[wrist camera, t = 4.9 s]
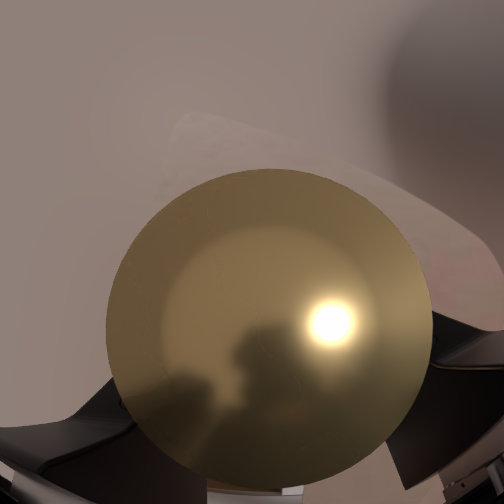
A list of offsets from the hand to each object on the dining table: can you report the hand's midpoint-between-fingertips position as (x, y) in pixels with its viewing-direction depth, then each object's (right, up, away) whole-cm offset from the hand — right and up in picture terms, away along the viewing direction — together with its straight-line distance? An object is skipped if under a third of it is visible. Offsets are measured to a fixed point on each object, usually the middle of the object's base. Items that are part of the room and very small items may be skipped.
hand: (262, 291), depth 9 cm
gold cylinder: (+1, -3, +6) cm, 7 cm away
